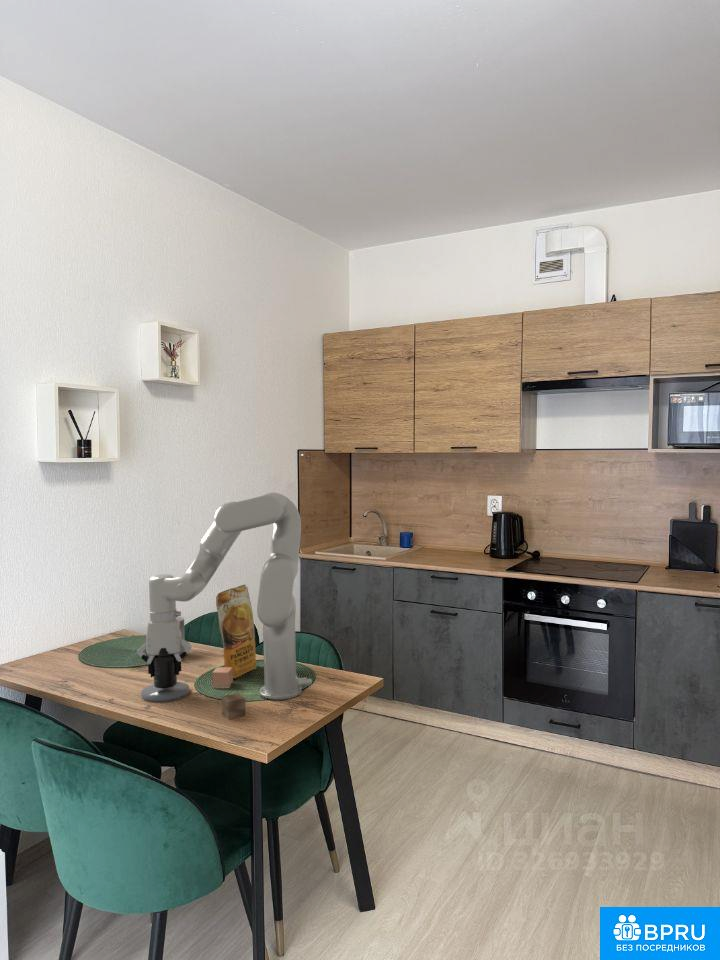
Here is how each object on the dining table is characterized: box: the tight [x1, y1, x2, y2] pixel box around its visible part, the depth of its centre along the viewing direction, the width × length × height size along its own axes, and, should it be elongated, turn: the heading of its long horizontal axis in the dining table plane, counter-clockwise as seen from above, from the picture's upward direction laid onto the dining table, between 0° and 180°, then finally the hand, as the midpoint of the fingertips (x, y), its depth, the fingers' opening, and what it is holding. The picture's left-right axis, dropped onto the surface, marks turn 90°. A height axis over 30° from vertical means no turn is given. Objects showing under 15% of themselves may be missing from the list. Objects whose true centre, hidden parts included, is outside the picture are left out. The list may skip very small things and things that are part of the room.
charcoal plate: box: [140, 681, 190, 703], centre depth 205 cm, size 14×14×1 cm
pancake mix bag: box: [215, 584, 257, 679], centre depth 223 cm, size 7×19×28 cm, turn 151°
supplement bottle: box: [152, 648, 178, 688], centre depth 205 cm, size 7×7×12 cm
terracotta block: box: [211, 666, 234, 688], centre depth 212 cm, size 5×5×5 cm
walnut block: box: [221, 692, 247, 721], centre depth 188 cm, size 5×5×5 cm
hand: (165, 674), depth 205 cm, fingers closed on supplement bottle, 6 cm apart
